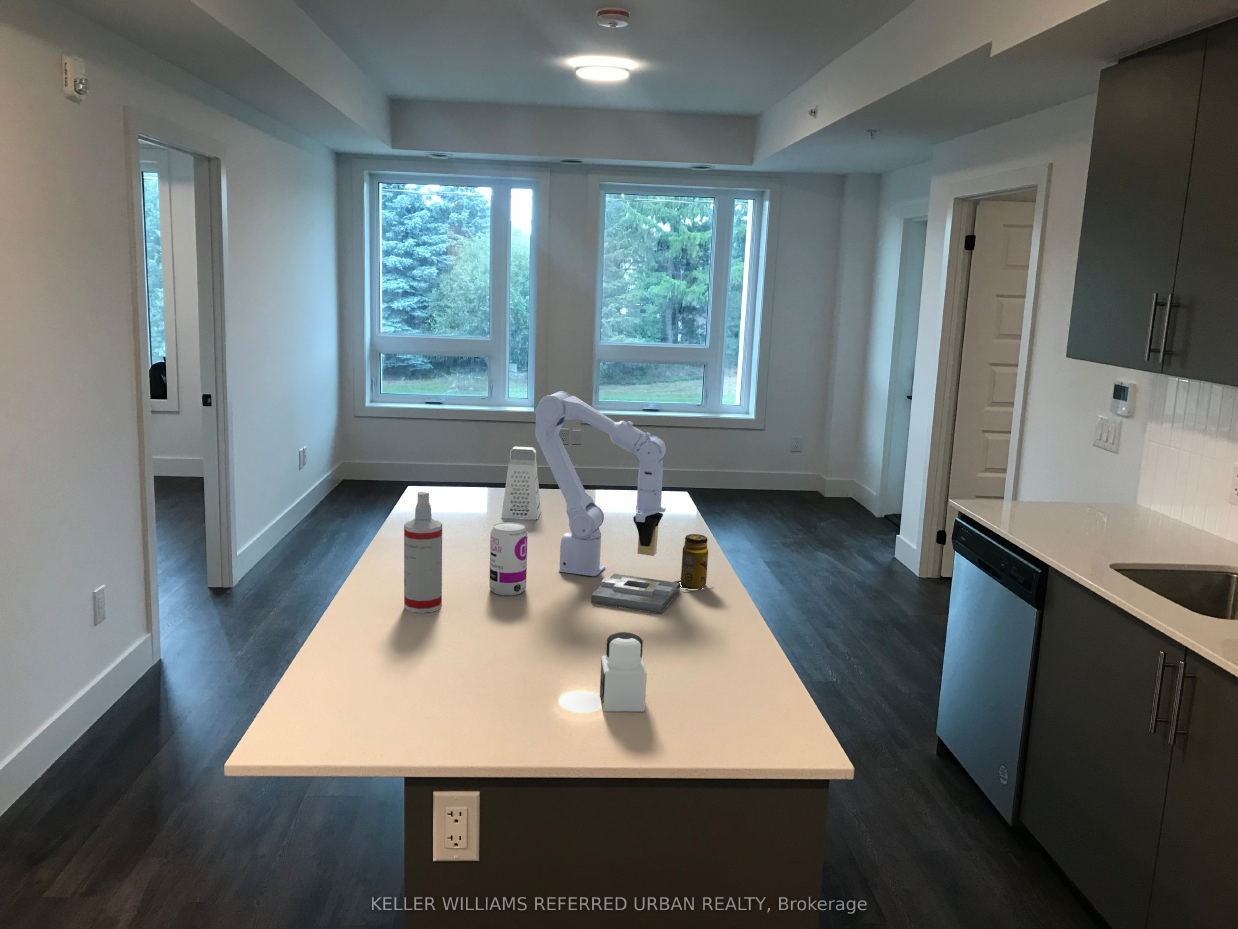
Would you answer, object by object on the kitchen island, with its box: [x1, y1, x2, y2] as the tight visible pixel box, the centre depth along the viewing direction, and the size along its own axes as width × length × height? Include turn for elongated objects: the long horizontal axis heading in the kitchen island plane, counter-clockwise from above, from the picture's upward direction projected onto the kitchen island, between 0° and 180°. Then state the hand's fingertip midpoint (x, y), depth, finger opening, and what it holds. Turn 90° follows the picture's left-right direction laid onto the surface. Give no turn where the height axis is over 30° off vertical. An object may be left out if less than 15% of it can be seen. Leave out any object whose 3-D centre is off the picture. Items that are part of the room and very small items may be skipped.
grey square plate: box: [590, 573, 681, 615], centre depth 213 cm, size 16×16×2 cm
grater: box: [501, 446, 542, 520], centre depth 278 cm, size 10×10×20 cm
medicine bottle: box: [599, 631, 648, 713], centre depth 160 cm, size 7×7×12 cm
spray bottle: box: [403, 491, 443, 614], centre depth 199 cm, size 8×8×25 cm
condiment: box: [673, 533, 714, 593], centre depth 222 cm, size 7×8×12 cm
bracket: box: [600, 577, 673, 596], centre depth 213 cm, size 16×7×1 cm, turn 72°
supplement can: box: [489, 521, 529, 597], centre depth 213 cm, size 8×8×15 cm
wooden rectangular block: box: [637, 524, 659, 557], centre depth 225 cm, size 4×2×7 cm, turn 73°
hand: (646, 544), depth 226 cm, fingers closed on wooden rectangular block, 2 cm apart
